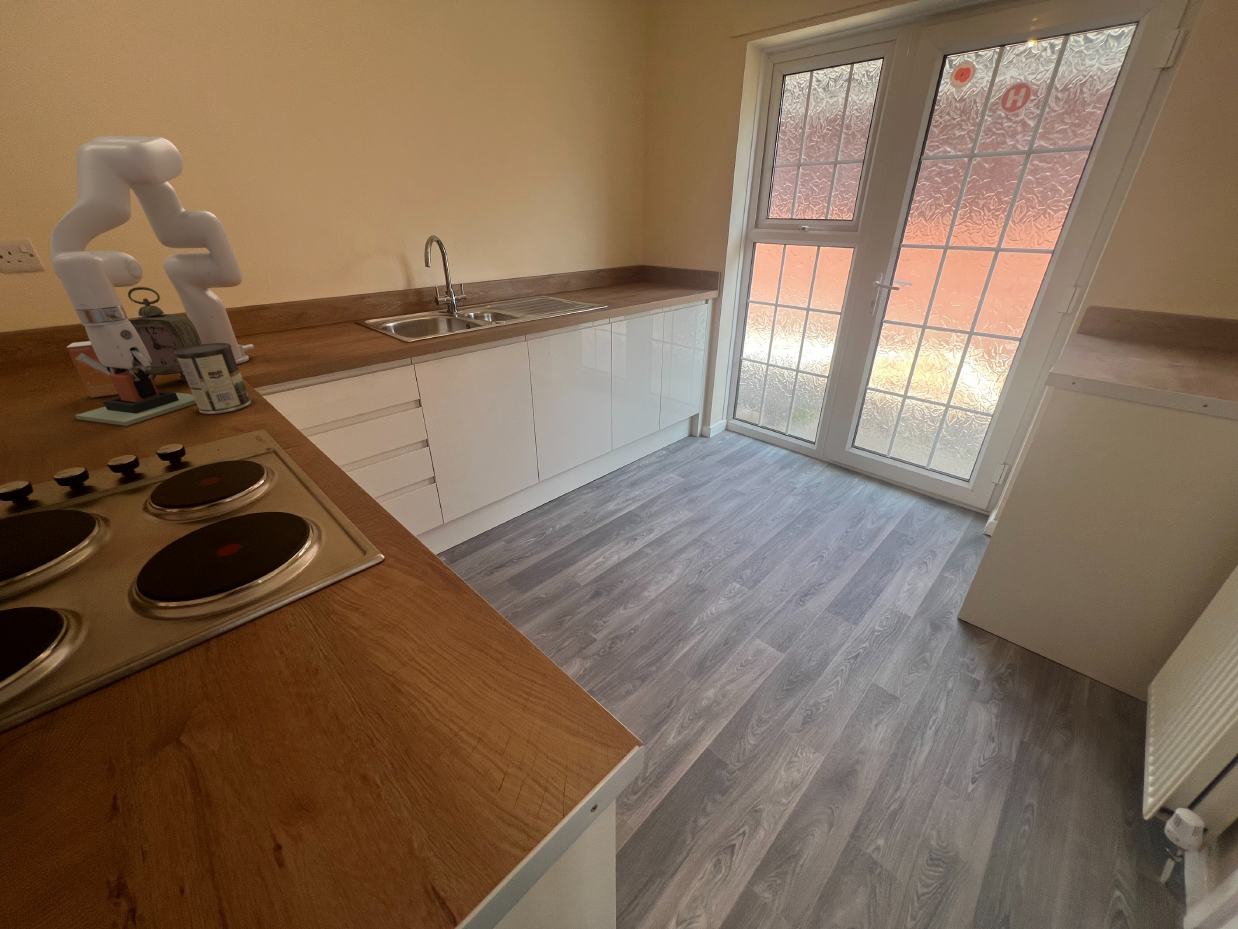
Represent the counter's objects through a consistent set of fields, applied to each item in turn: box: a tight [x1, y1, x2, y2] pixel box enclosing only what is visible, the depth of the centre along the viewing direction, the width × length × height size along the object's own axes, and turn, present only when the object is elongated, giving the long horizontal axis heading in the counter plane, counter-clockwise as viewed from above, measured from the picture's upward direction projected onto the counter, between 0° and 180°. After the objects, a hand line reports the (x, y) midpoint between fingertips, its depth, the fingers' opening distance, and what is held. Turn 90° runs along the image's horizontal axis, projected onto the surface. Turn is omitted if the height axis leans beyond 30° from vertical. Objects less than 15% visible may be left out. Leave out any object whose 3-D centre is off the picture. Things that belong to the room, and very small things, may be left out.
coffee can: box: [174, 343, 252, 415], centre depth 116 cm, size 10×10×14 cm
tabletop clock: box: [127, 286, 202, 385], centre depth 132 cm, size 14×9×25 cm, turn 99°
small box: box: [66, 340, 121, 399], centre depth 127 cm, size 8×6×13 cm
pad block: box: [110, 370, 160, 402], centre depth 116 cm, size 5×5×6 cm
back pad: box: [74, 390, 197, 427], centre depth 118 cm, size 18×16×3 cm
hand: (139, 394), depth 117 cm, fingers closed on pad block, 5 cm apart
